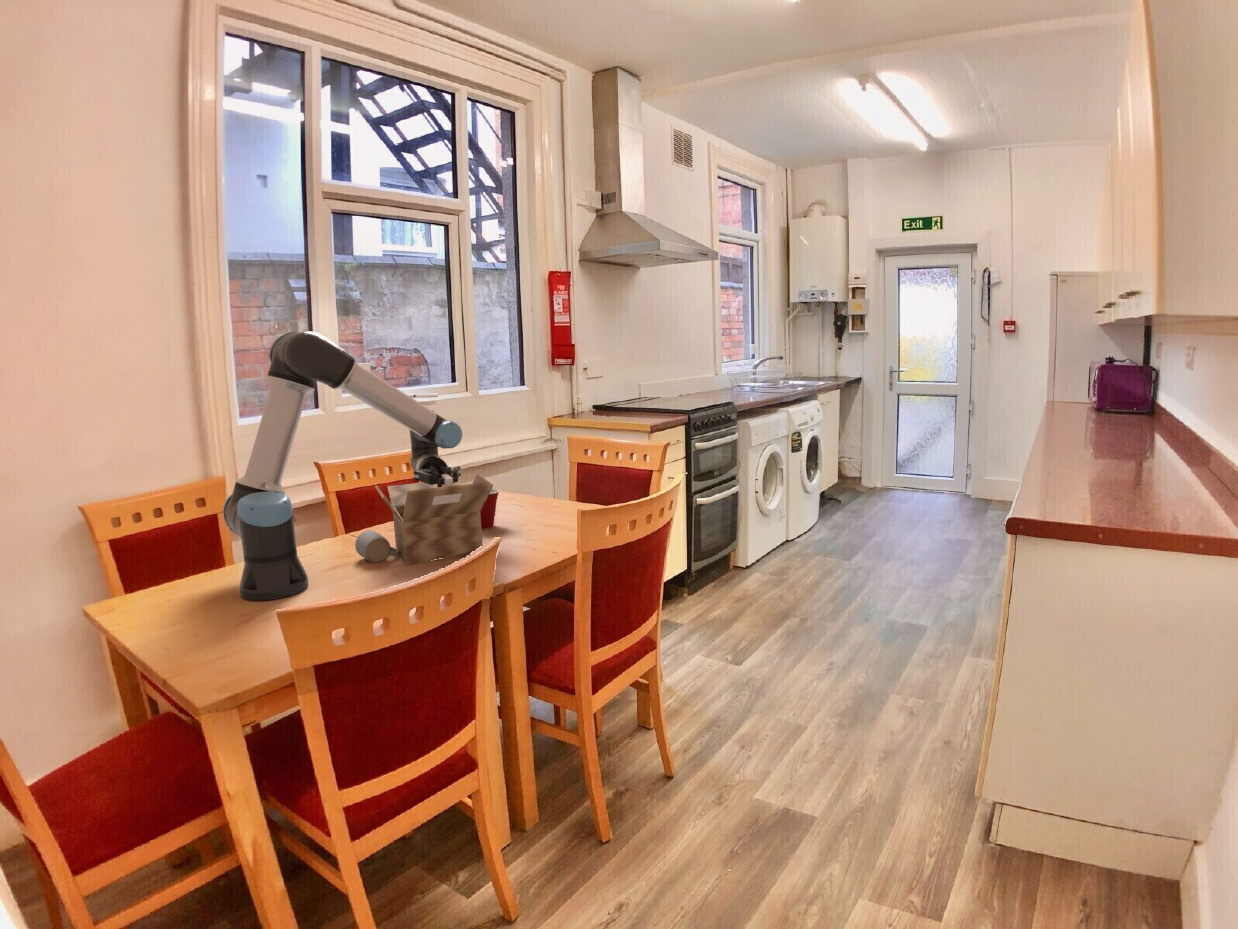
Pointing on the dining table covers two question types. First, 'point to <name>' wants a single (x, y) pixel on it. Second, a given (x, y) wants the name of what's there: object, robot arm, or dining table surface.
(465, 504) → the carton flap
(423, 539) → the shipping carton
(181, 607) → the dining table surface
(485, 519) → the plastic cup
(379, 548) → the ceramic mug
